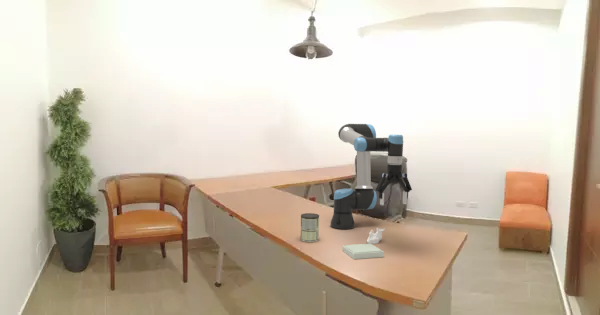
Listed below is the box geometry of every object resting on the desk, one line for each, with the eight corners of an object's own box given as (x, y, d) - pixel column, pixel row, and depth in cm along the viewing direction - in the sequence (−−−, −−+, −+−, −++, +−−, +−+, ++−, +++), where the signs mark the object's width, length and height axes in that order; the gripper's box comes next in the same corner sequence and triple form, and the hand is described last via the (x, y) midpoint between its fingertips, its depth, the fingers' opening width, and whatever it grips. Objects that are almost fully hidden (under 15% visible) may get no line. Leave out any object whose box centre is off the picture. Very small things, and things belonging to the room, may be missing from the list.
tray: (342, 250, 206) (342, 245, 206) (370, 248, 210) (370, 243, 210) (353, 259, 192) (354, 253, 192) (383, 256, 197) (383, 250, 197)
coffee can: (297, 238, 229) (298, 213, 228) (314, 236, 233) (314, 212, 232) (304, 242, 219) (304, 217, 218) (321, 241, 223) (322, 216, 222)
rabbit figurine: (381, 241, 226) (381, 224, 226) (389, 244, 220) (390, 227, 219) (363, 243, 221) (364, 225, 220) (371, 246, 214) (372, 229, 214)
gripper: (377, 164, 202) (375, 206, 203) (419, 164, 210) (417, 204, 211) (369, 163, 209) (368, 203, 210) (411, 163, 217) (409, 202, 218)
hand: (393, 204), depth 211 cm, fingers open, 13 cm apart
